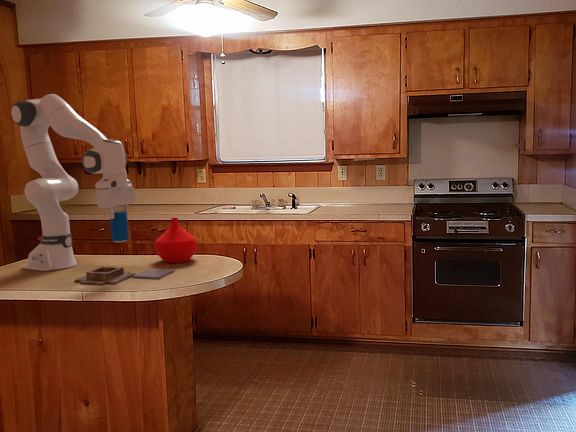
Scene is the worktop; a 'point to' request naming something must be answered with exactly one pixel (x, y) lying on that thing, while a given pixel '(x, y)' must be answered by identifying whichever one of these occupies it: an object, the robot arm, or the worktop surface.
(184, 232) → the vase
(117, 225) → the beverage can
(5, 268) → the worktop surface
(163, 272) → the coaster
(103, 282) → the socket
